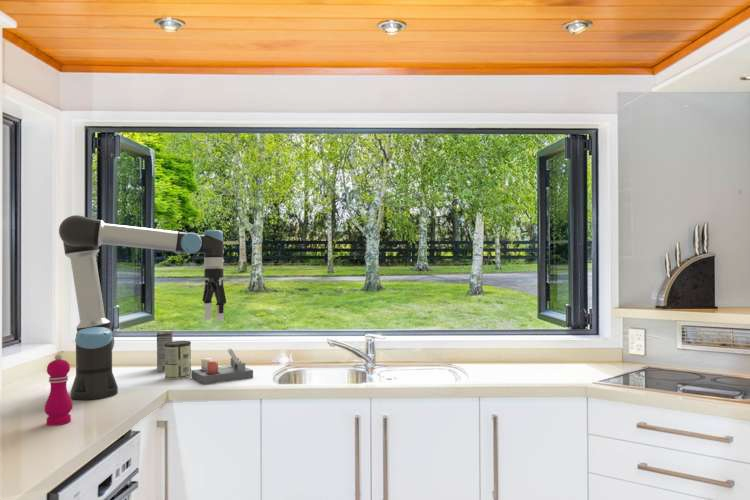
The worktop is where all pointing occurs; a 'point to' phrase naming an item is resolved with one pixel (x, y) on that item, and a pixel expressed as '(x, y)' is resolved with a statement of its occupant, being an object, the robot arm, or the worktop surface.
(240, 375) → the panel
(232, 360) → the slider knob
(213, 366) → the button red
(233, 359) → the lever
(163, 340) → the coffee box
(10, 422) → the worktop surface
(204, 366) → the button ivory
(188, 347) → the coffee can
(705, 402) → the worktop surface
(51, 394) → the pepper mill
